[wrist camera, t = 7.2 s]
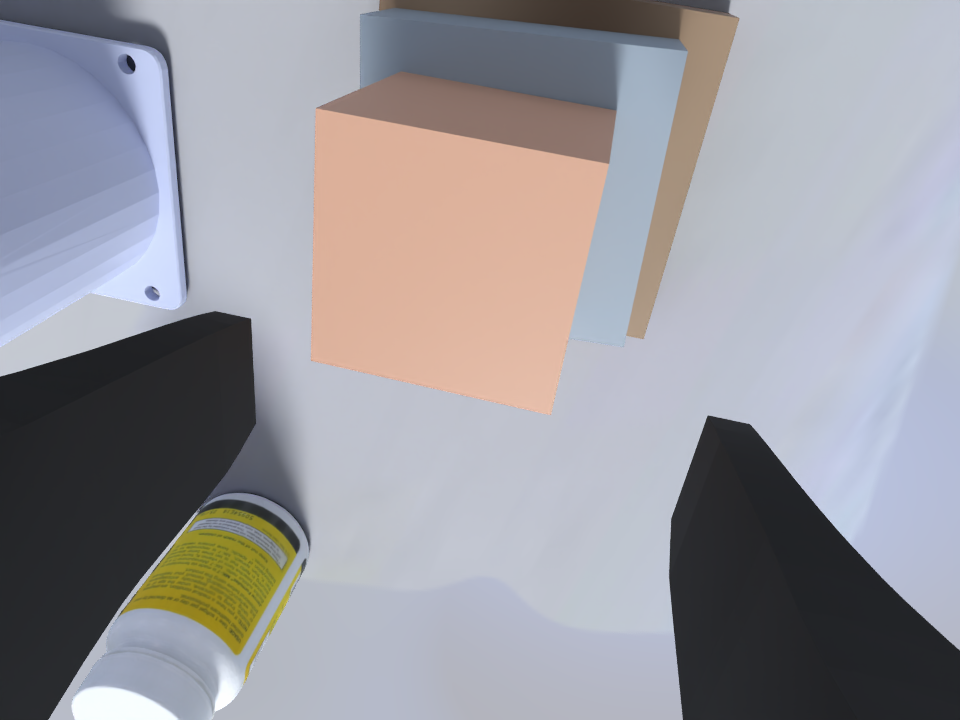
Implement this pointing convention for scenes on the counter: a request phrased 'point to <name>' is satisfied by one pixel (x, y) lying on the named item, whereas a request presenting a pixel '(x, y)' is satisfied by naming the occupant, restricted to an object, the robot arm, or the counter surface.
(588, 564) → the counter surface
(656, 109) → the slate middle block
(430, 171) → the terracotta block
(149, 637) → the supplement bottle
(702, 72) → the walnut base block
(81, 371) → the robot arm
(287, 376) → the counter surface
